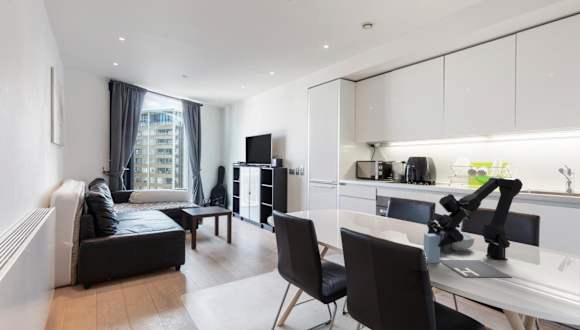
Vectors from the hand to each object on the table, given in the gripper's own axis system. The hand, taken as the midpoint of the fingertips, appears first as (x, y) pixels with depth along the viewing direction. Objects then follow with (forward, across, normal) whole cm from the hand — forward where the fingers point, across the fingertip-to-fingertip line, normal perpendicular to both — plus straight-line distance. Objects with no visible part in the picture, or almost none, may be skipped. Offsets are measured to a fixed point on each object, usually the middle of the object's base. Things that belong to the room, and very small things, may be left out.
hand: (431, 243), depth 131 cm
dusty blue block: (+6, 0, +6) cm, 8 cm away
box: (-5, -13, +16) cm, 21 cm away
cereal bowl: (-12, -17, +24) cm, 32 cm away
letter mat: (-3, +11, +14) cm, 18 cm away
